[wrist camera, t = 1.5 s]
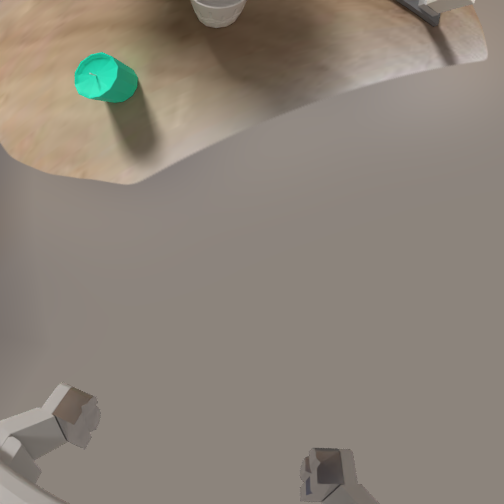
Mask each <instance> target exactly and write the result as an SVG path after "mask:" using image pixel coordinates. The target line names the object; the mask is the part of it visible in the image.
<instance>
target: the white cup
mask: <svg viewBox="0 0 504 504" xmlns="http://www.w3.org/2000/svg"><path fill="white" fill-rule="evenodd" d="M246 1H247V0H191V4H192V6H193V9H194V11H195V13H196V15H197V17H198V19H199V21H200V22H202V23H203V24H204V25H206V26H209V27H214V28H220V27H226V26H228V25H230V24H232V23H234V22H235V21H236V19H237V18H238V17H239V15H240V13H241V12H242V10H243V8H244V6H245V4H246Z"/></svg>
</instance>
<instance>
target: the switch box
mask: <svg viewBox="0 0 504 504" xmlns="http://www.w3.org/2000/svg"><path fill="white" fill-rule="evenodd" d="M396 1H398V2H399V3H401V4H402V5H404V6H405V7H407V8H408V9H410V10H411V11H413V12H414V13H416V14H417V15H418V16H420V17H421V18H423V19H424V20H425V21H427V22H428V23H429V24H431V25H432V26H433V27H434V26H437V25H438V23H439V18H440V13H439V14H438V13H437V12H436V11H434V10H433V9H432V8H430V7H429V6H428V5H426V3H427V0H396Z"/></svg>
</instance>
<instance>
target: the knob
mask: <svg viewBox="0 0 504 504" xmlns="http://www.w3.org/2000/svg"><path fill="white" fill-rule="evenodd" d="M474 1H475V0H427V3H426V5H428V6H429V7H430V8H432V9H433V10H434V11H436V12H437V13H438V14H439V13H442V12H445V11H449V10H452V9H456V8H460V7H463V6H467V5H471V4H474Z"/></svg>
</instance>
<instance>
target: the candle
mask: <svg viewBox="0 0 504 504" xmlns="http://www.w3.org/2000/svg"><path fill="white" fill-rule="evenodd" d="M137 83H138V77H137V75H136V74H135V72H134V70H133V69H131V68H129V67H128V66H126V65H125V64H123V63H122V62H120V61H118V60H117V59H115V58H114V57H112V56H110V55H107V54H105V53H103V52H100V53H96V54H91V55H90V56H88V57H87V58H85V59H84V60H83V61H81V62H80V64H79V66H78V68H77V70H76V72H75V86H76V89H77V91H78V93H79V94H80V95H82V96H84V97H87V98H89V99H95V100H101V101H107V102H112V103H117V102H124V101H125V100H127V99H128V98H130V97H131V96H132V95H133V94H134V92H135V90H136V89H137Z"/></svg>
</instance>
